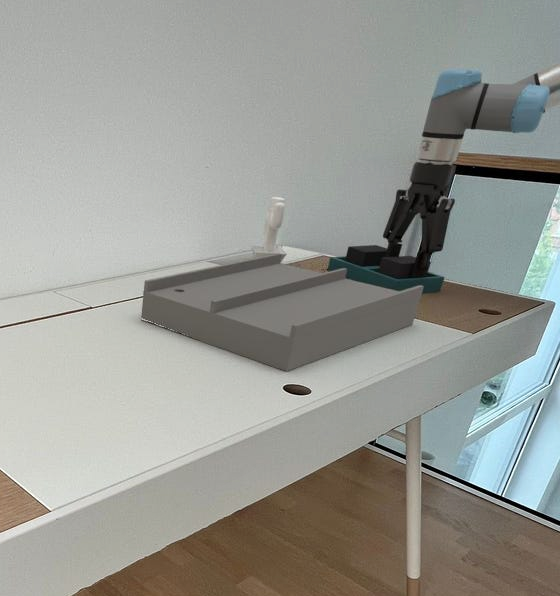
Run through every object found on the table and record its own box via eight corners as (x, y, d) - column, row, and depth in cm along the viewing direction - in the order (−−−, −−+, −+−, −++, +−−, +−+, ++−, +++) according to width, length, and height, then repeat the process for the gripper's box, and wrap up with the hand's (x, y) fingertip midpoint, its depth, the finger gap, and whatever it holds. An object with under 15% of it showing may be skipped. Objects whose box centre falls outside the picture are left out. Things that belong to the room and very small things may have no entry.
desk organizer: (412, 324, 125) (424, 286, 121) (287, 371, 103) (296, 326, 99) (272, 287, 144) (278, 253, 141) (140, 320, 122) (144, 280, 118)
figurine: (277, 262, 165) (289, 194, 156) (284, 271, 157) (298, 201, 148) (247, 260, 165) (258, 193, 157) (253, 270, 157) (265, 199, 149)
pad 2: (424, 283, 147) (431, 261, 144) (395, 285, 144) (401, 263, 142) (404, 276, 151) (410, 255, 149) (376, 278, 149) (381, 257, 146)
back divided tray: (440, 291, 146) (444, 277, 144) (392, 295, 142) (397, 280, 140) (371, 267, 163) (374, 254, 161) (327, 270, 159) (330, 256, 158)
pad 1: (388, 271, 155) (394, 250, 153) (360, 272, 153) (365, 252, 150) (370, 264, 160) (375, 245, 157) (343, 266, 157) (348, 246, 155)
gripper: (384, 156, 141) (356, 269, 154) (460, 168, 126) (421, 292, 138) (412, 156, 144) (382, 267, 156) (490, 168, 128) (449, 290, 141)
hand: (400, 279), depth 147 cm, fingers open, 7 cm apart
